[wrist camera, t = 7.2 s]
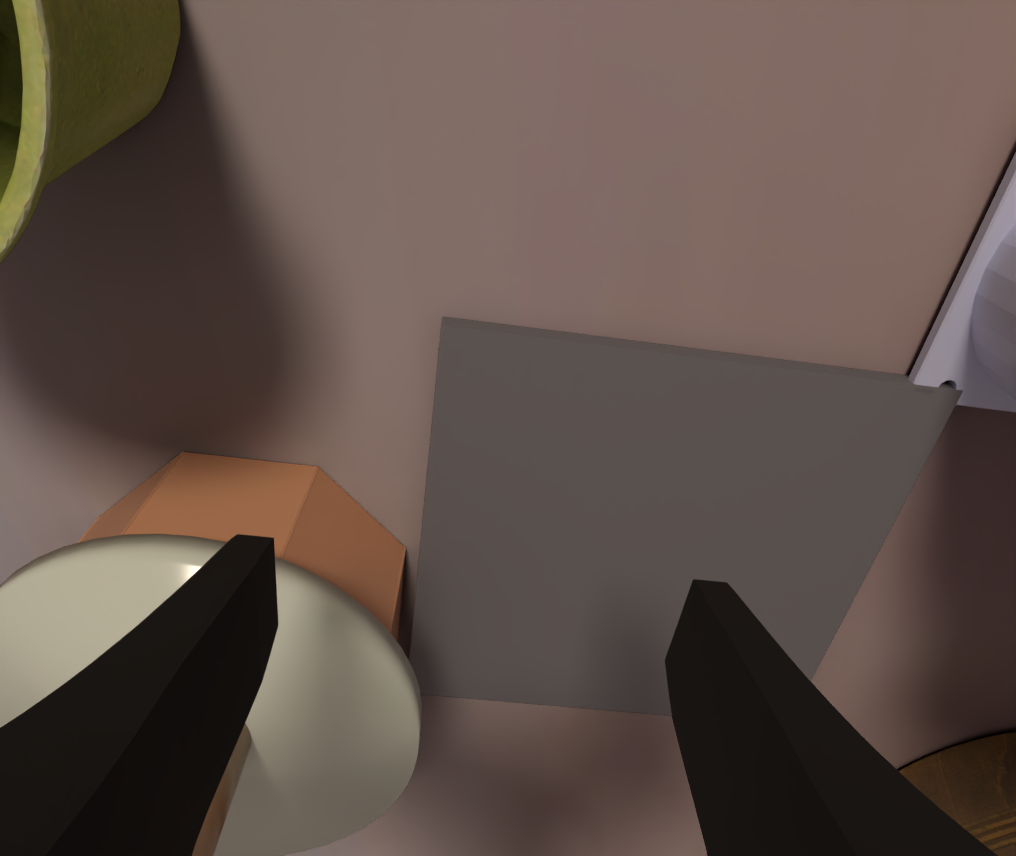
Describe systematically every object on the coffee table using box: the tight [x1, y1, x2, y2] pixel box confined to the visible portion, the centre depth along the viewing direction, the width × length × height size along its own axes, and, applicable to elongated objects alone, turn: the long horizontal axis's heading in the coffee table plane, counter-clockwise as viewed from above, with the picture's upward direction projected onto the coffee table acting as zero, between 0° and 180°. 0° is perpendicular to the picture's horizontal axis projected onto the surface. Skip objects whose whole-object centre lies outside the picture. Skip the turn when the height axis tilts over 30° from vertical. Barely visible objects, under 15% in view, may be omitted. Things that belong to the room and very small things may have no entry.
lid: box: [0, 534, 422, 856], centre depth 18 cm, size 12×12×4 cm
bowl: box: [78, 452, 406, 642], centre depth 22 cm, size 10×10×5 cm
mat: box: [409, 317, 963, 716], centre depth 24 cm, size 15×15×1 cm
